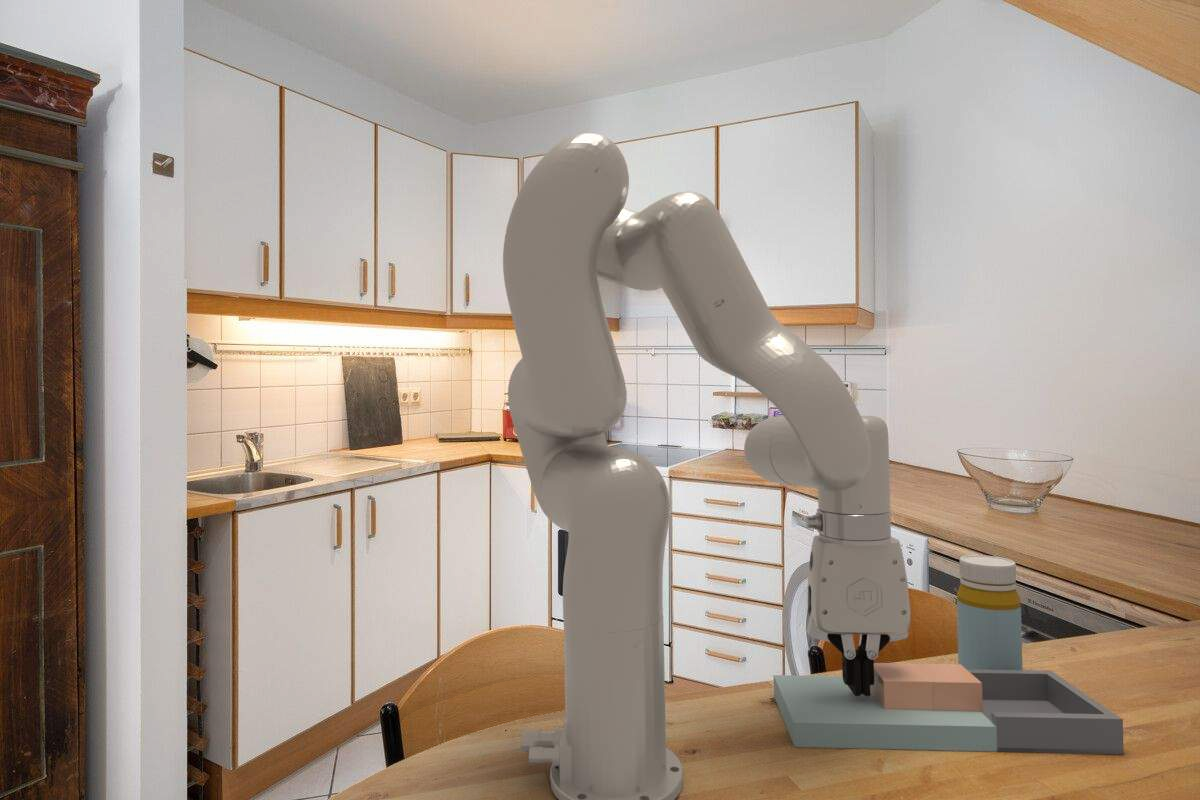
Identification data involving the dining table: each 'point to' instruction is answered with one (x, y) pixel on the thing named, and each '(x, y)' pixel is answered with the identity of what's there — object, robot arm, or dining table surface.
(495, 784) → the dining table surface
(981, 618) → the bottle
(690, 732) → the dining table surface
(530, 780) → the dining table surface
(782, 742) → the dining table surface
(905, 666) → the tile
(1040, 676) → the tray
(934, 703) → the tile
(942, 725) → the pale green lid panel
